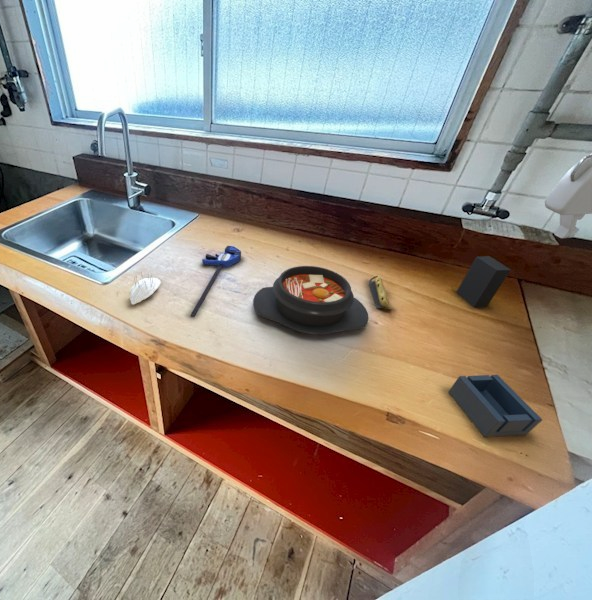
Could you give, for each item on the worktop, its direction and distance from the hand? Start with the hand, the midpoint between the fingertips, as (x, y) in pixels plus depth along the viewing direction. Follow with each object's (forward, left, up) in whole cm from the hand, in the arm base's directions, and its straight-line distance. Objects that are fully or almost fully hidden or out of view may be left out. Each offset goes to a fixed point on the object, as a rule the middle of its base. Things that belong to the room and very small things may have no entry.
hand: (591, 234), depth 53 cm
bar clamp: (+60, +28, -23) cm, 70 cm away
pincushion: (+68, +44, -23) cm, 84 cm away
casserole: (+34, +23, -23) cm, 47 cm away
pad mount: (0, +26, -23) cm, 34 cm away
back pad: (+9, -8, -23) cm, 26 cm away
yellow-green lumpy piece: (+25, +5, -23) cm, 34 cm away
